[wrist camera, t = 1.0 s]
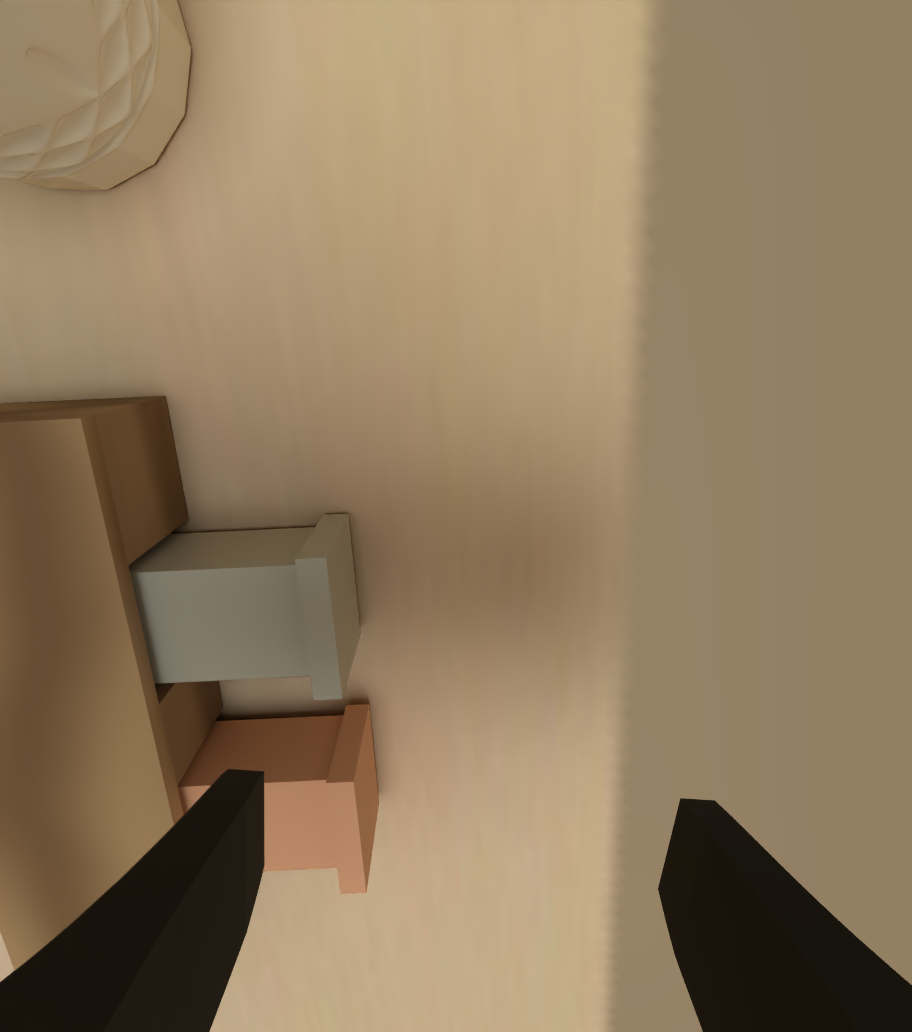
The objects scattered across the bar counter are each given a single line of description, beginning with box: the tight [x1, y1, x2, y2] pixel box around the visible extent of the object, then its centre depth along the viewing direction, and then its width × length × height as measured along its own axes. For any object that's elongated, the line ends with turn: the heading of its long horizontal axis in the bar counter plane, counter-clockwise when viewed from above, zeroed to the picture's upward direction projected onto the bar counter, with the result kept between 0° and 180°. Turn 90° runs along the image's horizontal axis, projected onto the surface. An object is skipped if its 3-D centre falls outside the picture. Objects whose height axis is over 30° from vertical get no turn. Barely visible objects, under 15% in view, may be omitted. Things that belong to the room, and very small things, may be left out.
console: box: [0, 396, 223, 970], centre depth 20 cm, size 6×22×4 cm, turn 3°
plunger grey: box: [128, 514, 361, 700], centre depth 18 cm, size 7×4×4 cm, turn 93°
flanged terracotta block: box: [177, 704, 379, 894], centre depth 20 cm, size 7×4×4 cm, turn 93°
